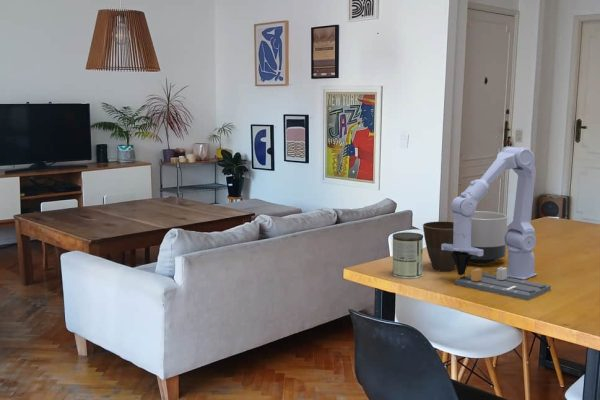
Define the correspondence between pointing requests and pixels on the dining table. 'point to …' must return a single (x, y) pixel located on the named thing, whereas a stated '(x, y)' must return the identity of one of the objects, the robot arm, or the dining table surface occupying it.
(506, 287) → the console
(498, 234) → the planter
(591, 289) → the dining table surface
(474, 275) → the orange fader knob
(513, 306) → the dining table surface
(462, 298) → the dining table surface
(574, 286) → the dining table surface
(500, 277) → the grey fader knob
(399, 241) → the coffee can
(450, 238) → the plant pot
